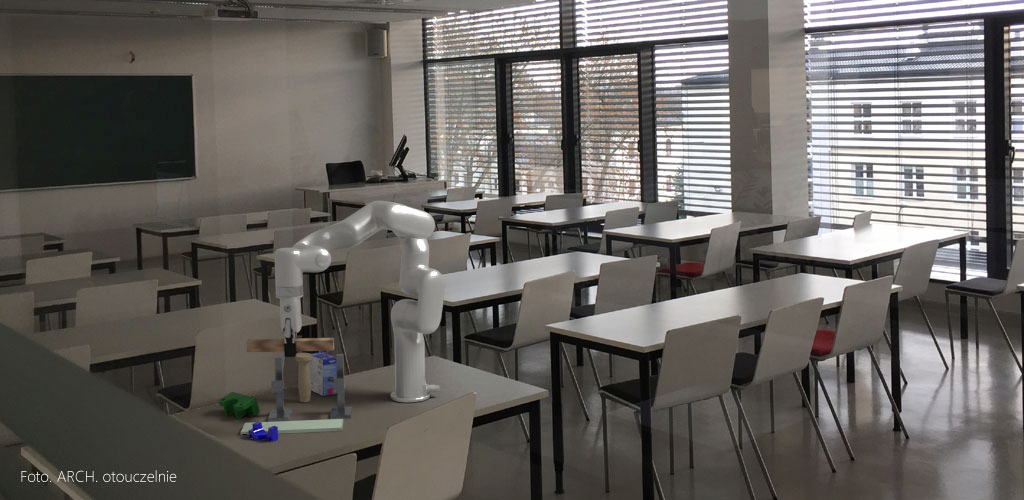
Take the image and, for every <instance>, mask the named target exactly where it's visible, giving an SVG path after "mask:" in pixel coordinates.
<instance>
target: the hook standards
mask: <svg viewBox="0 0 1024 500" xmlns="http://www.w3.org/2000/svg"><path fill="white" fill-rule="evenodd" d="M335 357H336V366H337V378H334V390H337V394H336V395H337V396H336V397H337V407H331V410H330V415H329V419H352V412H353V407H352V406H346V405H345V404H346V403H345V401H346V400H345V396H346V395H345V391H346V384H347V383H346V380H345V370H344V368H345V367H344V366H345V364H344V353H339V354H338V353H337V354H336V355H335ZM274 372H275V373H274V374H275V376H274V378H275V379H271V381H270V383H271V385H270V386H271V394H274V393H275V401H276V402H275V403H276V404H275V405H276V409H271V410H270V412H269V414H268V416H267V417H268V418H267V422H279V421H290V419H291V416H292V412H293V410H292V409H291V408H290V409H285V394H284V393H285V391H284V388H285V384H286V383H285V382H284V365H283V355H277V356H276V355H275V357H274Z"/></svg>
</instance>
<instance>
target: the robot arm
mask: <svg viewBox="0 0 1024 500" xmlns="http://www.w3.org/2000/svg"><path fill="white" fill-rule="evenodd" d="M435 226H436V222H435V219H434V217H433V216H432V215H431V214H430V213H428V212H426V211H425V210H421V209H417V208H415V207H411V206H409V205H405V204H402V203H399V202H394V201H386V200H374V201H371V202H369V203H368V204H366V205H364V206H363V207H361V208H360V209H359V210H356V211H355V212H354V213H352V214H350V215H349V216H347V217H346V218H344V219H343V220H341V221H339V222H336V223H334V224H331V225H328V226H326V227H324V228H320V229H318V230H316V231H314V232H312V233H310V234H308V235H306V236H305V237H303V238H302V239H300V240H298V241H297V242H296V243H294V244H293V245H292V247H281V248H277V249H276V250H275V252H274V275H275V276H274V277H275V279H274V281H275V299H279V311H280V312H279V313H280V314H279V315H280V316H279V317H280V331H281V333H283V334H284V335H283V336H284V337H283V339H284V342H285V343H284V353H283V354H284V357H285V358H295V357H296V354H297V353H299V351H296V343H295V339H298V338H297V337H298V336H297V334H299V332H300V331H301V330H302V325H303V324H302V322H303V321H302V307H301V298H302V297H304V285H303V281H304V278H303V273H320V272H324V271H325V270H327V269H328V268H329V267H330V266H331V263H332V255H331V253H330V252H332V251H337V250H343V249H344V250H345V249H346V250H347V249H350V248H354V247H357V246H359V245H360V244H361V243H363V242H365V241H366V240H367V239H369V238H370V237H372V236H373V235H375V234H377V232H380V231H382V230H386V231H387V230H388V231H392V232H393V234H394V235H395V236H396V237H397V238H398V241H399V243H400V245H401V248H402V252H401V253H402V254H401V265H400V273H399V274H400V275H399V280H398V281H399V289H400V290H401V292H403V294H406V295H409V296H413V297H417V300H415V299H410V298H403V299H400V300H398V301H396V302H395V303H394V304H393V306H392V308H391V312H390V321H391V326H392V331H393V339H394V340H393V343H394V378H395V379H394V384H395V385H394V387H395V388H394V389H395V390H394V391H392V392H391V393H390V399H391V400H392V401H395V402H398V403H420V402H423V401H427V400H428V399H429V398H431V392H433V393H436V392H440V391H441V388H440V385H436V383H434V384H428V383H427V381H426V356H425V355H426V353H425V352H426V351H425V349H426V347H425V339H424V338H425V337H424V335H430V334H433V333H434V332H436V331H437V329H438V328H439V326H440V323H441V321H442V313H443V307H444V300H445V299H444V298H445V291H446V284H445V278H444V276H443V274H442V273H441V272H440V271H439V270H437V269H435V268H432V267H429V266H430V264H429V263H430V245H429V242H428V239H427V238H429V237H431V236H432V235H433V233H434V232H435V228H436V227H435Z"/></svg>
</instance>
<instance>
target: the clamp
mask: <svg viewBox="0 0 1024 500" xmlns="http://www.w3.org/2000/svg"><path fill="white" fill-rule="evenodd" d="M218 404H219V406H220V407H223V410H224V413H225V416H226V417H228V416H230V415H232V414H234V415H235V418H236V420H239V419H241V418H243V417H245V416H250V417H252V418H253V417H255V416H257V415H259V414H260V408H259V404H258V401H257V398H256V397H253V396H249V395H246V394H242V393H239V392H235V391H232V392H229V393H227V394H226V395H224V396H222V397H221V398H219V399H218Z"/></svg>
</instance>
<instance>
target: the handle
mask: <svg viewBox="0 0 1024 500" xmlns="http://www.w3.org/2000/svg"><path fill="white" fill-rule="evenodd" d="M312 354H313V353H310V352H309V353H308V352H298V353H297V354H296V357H294V359H295V361H296V362H298V374H297V375H298V376H297V377H298V380H297V382H298V384H297V386H298V387H297V388H298V394H299V397H300V398H299V401H300V403H309V402H310V401H311V394H312V391H311V378H310V367H309V362H310V361H311V360H312V359H313V357H312Z"/></svg>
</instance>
